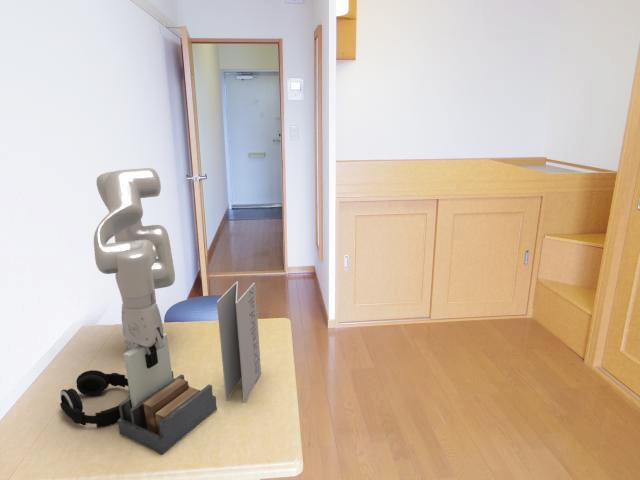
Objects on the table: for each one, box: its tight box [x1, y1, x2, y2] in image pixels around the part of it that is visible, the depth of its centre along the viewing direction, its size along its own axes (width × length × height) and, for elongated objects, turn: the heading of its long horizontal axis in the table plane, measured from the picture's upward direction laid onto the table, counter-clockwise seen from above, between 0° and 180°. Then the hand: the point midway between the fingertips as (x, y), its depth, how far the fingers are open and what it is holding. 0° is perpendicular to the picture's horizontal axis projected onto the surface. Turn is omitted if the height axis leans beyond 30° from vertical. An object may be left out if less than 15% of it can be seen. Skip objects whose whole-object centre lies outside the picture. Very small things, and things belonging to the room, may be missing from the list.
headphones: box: [59, 369, 130, 428], centre depth 127 cm, size 18×8×20 cm
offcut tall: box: [143, 378, 189, 436], centre depth 120 cm, size 3×12×9 cm, turn 151°
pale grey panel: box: [123, 333, 173, 408], centre depth 121 cm, size 2×12×20 cm, turn 151°
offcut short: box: [155, 386, 201, 436], centre depth 118 cm, size 3×12×8 cm, turn 151°
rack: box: [117, 370, 218, 455], centre depth 120 cm, size 15×19×8 cm
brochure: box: [216, 280, 262, 404], centre depth 131 cm, size 14×6×30 cm, turn 168°
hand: (148, 363), depth 119 cm, fingers closed on pale grey panel, 2 cm apart
